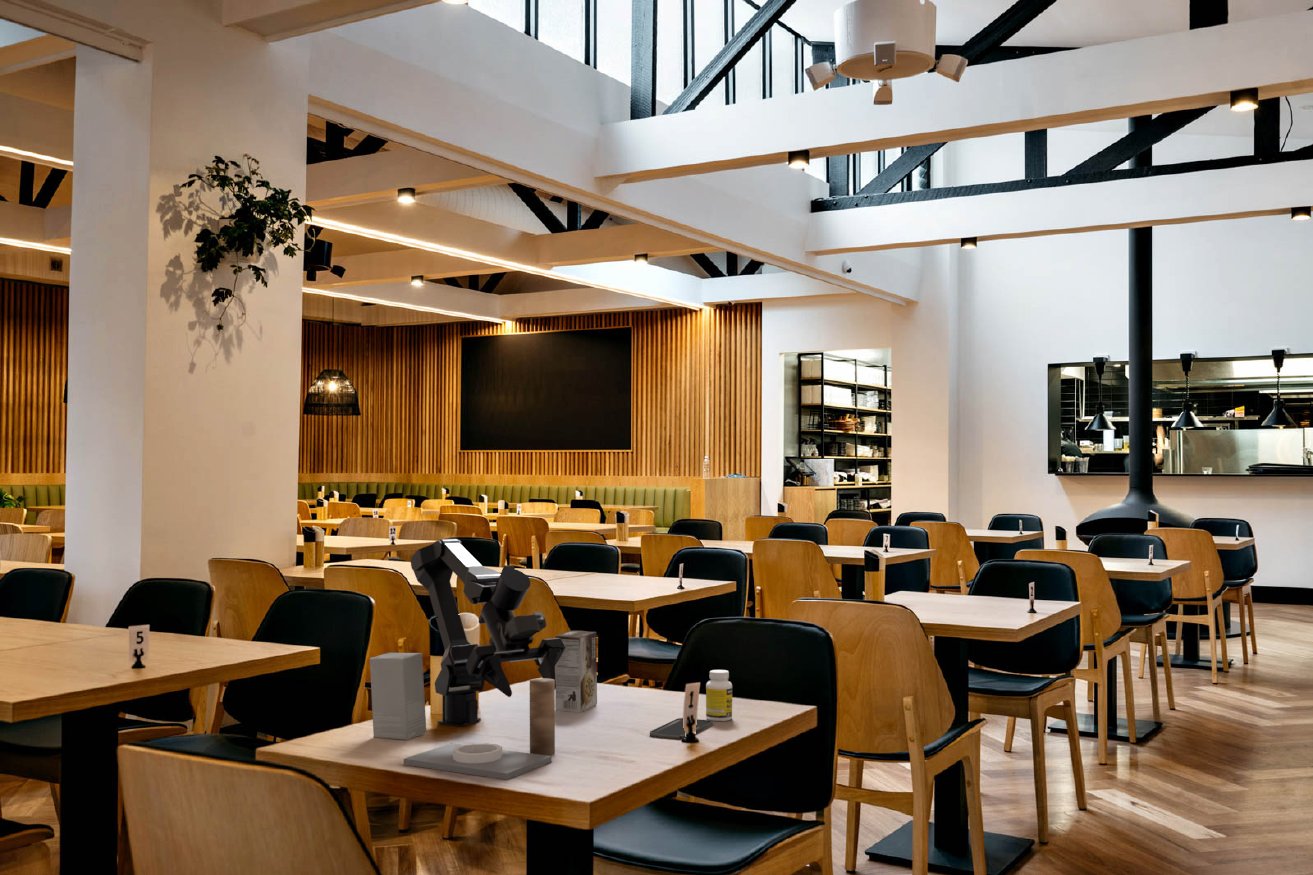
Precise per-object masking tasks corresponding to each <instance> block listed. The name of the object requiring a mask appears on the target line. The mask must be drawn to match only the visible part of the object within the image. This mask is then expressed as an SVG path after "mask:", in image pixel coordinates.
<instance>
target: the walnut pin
mask: <svg viewBox="0 0 1313 875" xmlns="http://www.w3.org/2000/svg"><path fill="white" fill-rule="evenodd" d="M555 716H556V710H555V680H554V679H549V678H543V677H540V678H533V679H530V680H529V753H531V754H539V755H547V756H553V755H555V754H556V726H555V724H556V722H555V721H556V717H555Z"/></svg>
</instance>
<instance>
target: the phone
mask: <svg viewBox="0 0 1313 875" xmlns="http://www.w3.org/2000/svg"><path fill="white" fill-rule="evenodd" d="M683 718H684V717H680V718H679V717H678V718H675V719H673V720H672V721H669V722H667V723H666V724H662V725H661V726H658V727H656V728H655V729H652V730H650V731H649V737H650V738H657V739H658V738H659V739H668V740H679V741H684V738H685V731H684V728H683ZM713 726H714V721H711V720H708V719H699V718H697V725H696V735H697V734H700V733H701V732H703V731H705V730H707V729H709V728H711V727H713Z"/></svg>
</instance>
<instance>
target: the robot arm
mask: <svg viewBox="0 0 1313 875" xmlns="http://www.w3.org/2000/svg"><path fill="white" fill-rule="evenodd" d="M410 567H411V569H412V571H413V573H414V576H415V578H416V581H417V582H418V583H419V584H420V585H421V586H422V587H423V588H425V589H426V590H427V592H428V595H429V598H430V602H431V607H432V609H433V613H434V616H435V617H434V618H435V621H436V623H437V627H438V630H439V634H440V638H441V640H442V644H443V649H444V653H443V656H442V658H441V661H440V668H441V669H440V671H439V673H438V675H437V677H436V679H435V681H434V689H435V693H436V694H439V695H441V696H442V719H440V720H437V722H436V723H437V724H439V725H449V726H454V727H455V726H456V727H465V726H468V725H471V724H474V723H478V722H481V721H482V718H481V717H479V716H478V711H479V710H478V699H477V692H483V691H484V686H485V682H487V683H488V684H490V685H491V686H493V687H494V688H496V689H497V690H499V691H500V692H501V693H503V695H505V696H506V697H508V698H511V696H512V695H513V691H512V687H511V686H510V683H509V680H508V678H507V676H506V674H505V672H504V669H503V667H502V663H506V662H508V663H513V662H516V663H517V662H522V661H533V660H534V662H535V665H536V666H538V668H537V671H538V672H539V674H540V676H541V678H549V679H554V680H555V689H556V678H555V665H556V664H557V662H558V660H559V659H560V657H561V655H562V654H563V652H564V650H565V648H566V646H565V644H564V642H563V641H562V639H561V638H555V637H553V638H552V637H551V638H543V639H541V641H540V643H539V645H538V646H537V647H530V646H529V645H530V644H532V643H533V642H534V637H533V636H534V635H535V634H538V633H540V632H541V631H542V630H544V629H545V628H546V627H547V620H546V616H544V614H543V613H542V611H538V612H537V611H535V612H532V614H525V615H523V614H522V615H517V616H516V615H515V613H514V611H515V610H517V609H518V608H520V606H521V604H522V602H523V600H524V598H525V596H526V595H527V592H529V591H528V590H529V589H530V587H531V579H530V577H529V576H528V575H526V573H524V572H522V571H521V570H518V569H516V568H515V567H514V565H504V566H503V568H502V570H501V571H500V572H501V573H500V572H499V571H497V570H495V569H492V568H489V567H485V566H483V565H482V564H481V563H480V562H479V561H478V560H477V559H476V558H475V557H474V556H473V555H472V554H471V553H470V552H469V551H468V550H467V549H466V548H465V547H464V546H463V543H462V541H461V540H460V539H458V538H440V539H438V540H436V541H434V542H433V543H432V544H429V545H427V546H424V547H422V548H420V549H417V550H416V551H415V552H414V553H413V555H411V558H410ZM453 573H454V574H455V575H456V576H457V577H458V579H459V580H460V581H461V582H462V583H463V585H464V586H463V591H462V592H463V593H464V595H465V596H466V598H467V600H468V601H469V602H470V604H472V605H481V604H482V605H483V606H482V608H481V610H480V615H479V617H478V624H479V625H482V624H484V625H486V626H485V627H486V628H487V631H488V632H489V633H488V634H489V635H490V639H489V640H488V642H489V644H483V645H481V644H480V645H479V644H478V643H471V642H469V641H468V637H467V635H466V631H465V628H464V625H463V622H462V618H461V614H460V610H459V606H458V604H457V600H456V597H455V594H454V591H453V587H452V584H451V583H452V582H451V579H452V576H453ZM458 614H460V615H458ZM436 617H438V618H436Z"/></svg>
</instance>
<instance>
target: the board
mask: <svg viewBox="0 0 1313 875" xmlns="http://www.w3.org/2000/svg"><path fill="white" fill-rule="evenodd" d="M552 756H553V755H550V756H547V755H539V754H531V753H530V752H523V751H515V750H506V749H503V747H502V746H501V745H499V744H496V743H491V742H490V743H489V742H482V743H481V742H480V743H479V742H477V743H476V742H475V743H467V744H463V743H462V744H460V743H453V742H452V743H451V742H450V743H448V744H444V745H441V746H439V747H436V748H432V749H429V750H426V751H423V752H420V753H416V754H414V755H411V756H407V757H405V758H403V766H404V765H405V766H412V767H417V768H425V769H426V768H427V769H433V770H438V771H446V772H452V773H460V774H466V775H473V776H481V777H485V778H493V779H501V780H505V781H506V780H509V779H512V778H515V777H517V776H520V775H522V774H525V773H527V772H530V771H532V770H535V769H538V768H539V767H543V766H546V765H548V764H551V763H552V760H553V758H552Z"/></svg>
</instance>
